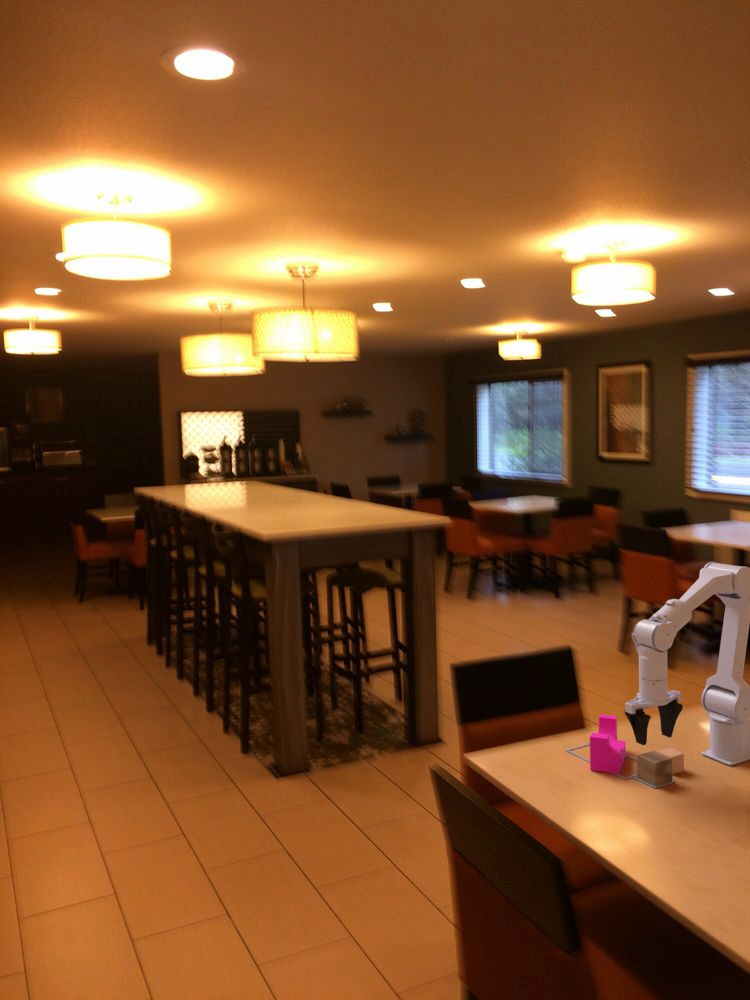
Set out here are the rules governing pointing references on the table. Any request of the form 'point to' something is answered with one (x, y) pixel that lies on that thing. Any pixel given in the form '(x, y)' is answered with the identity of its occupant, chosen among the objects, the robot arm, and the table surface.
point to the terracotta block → (674, 759)
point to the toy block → (607, 747)
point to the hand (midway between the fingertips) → (654, 739)
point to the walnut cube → (654, 768)
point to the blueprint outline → (617, 774)
